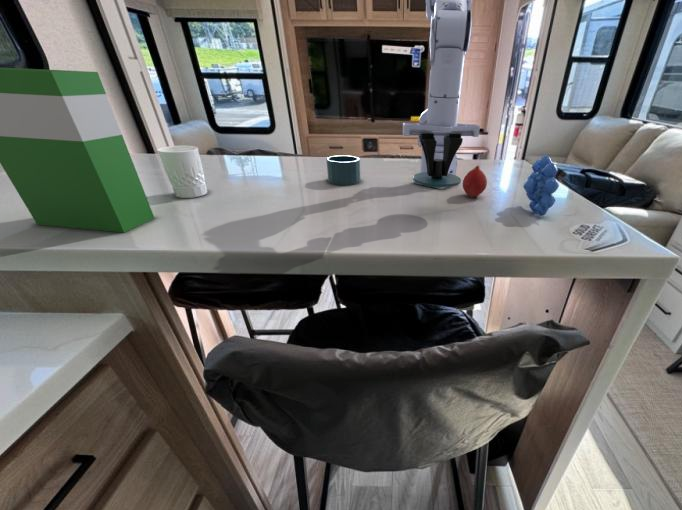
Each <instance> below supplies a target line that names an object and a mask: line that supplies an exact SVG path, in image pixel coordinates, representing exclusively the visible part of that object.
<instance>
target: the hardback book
mask: <svg viewBox="0 0 682 510" xmlns="http://www.w3.org/2000/svg"><path fill="white" fill-rule="evenodd" d="M0 165H1V167H2V168H3V170H4V172H5V173H6V175H7V177H8V179H9V180H10V182H11V185H12V186H13V187H14V189H15V190H16V192H17V194H18V195H19V197H20V199H21V200H22V202H23V204H24V205H25V207H26V208H27V210H28V213H30V215H31V217H32V218H33V220H34V221H35V223H36V225H38V226H39V225H40V226H49V227H61V228H71V229H81V230H94V231H104V232H112V233H113V232H115V233H126V232H129V231H130V230H133V229H135V228H137V227H139V226H141V225H144V224H145V223H148V222H150V221H152V220H154V219H155V215H154V212H153V210H152V208H151V207H152V206H151V205H150V202H149V200H148V198H147V194H146V192H145V189H144V187H143V185H142V182H141V180H140V179H141V178H140V177H139V175H138V172H137V169H136V167H135V165H134V161H133V159H132V156H131V154H130V152H129V149H128V146H127V143H126V141H125V139H124V136H123V133H122V131H121V128H120V125H119V123H118V121H117V118H116V115H115V113H114V110H113V108H112V105H111V103H110V100H109V98H108V95H107V92H106V90H105V88H104V84H103V82H102V79H101V77H100V74H99V72H98V71H88V70H86V71H85V70H64V69H63V70H61V69H41V68H40V69H38V68H20V67H19V68H18V67H17V68H16V67H0Z"/></svg>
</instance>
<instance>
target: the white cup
mask: <svg viewBox="0 0 682 510" xmlns="http://www.w3.org/2000/svg"><path fill="white" fill-rule="evenodd" d="M156 151H157V154H158V156H159V159H160V162H161V164H162V167H163V170H164V172H165V174H166V176H167V179H168V182H169V183H170V185H171V188H172V190H173V193H174V195H175V196H176V198H180V199H193V198H199V197H203V196H205V195H207V194H208V188H207V184H206V178H205V172H204V169H203V163H202V160H201V155H200V151H199V147H198V146H194V145H169V146H164V147H163V146H162V147H159V148H157V149H156Z"/></svg>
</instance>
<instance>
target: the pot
mask: <svg viewBox="0 0 682 510" xmlns="http://www.w3.org/2000/svg"><path fill="white" fill-rule="evenodd" d="M326 167H327V168H326V170H327V180H328V184H332V185H334V186H353V185H358V184H360V183H361V159H360V158H359V157H357V156H354V155H331V156H329V157H327V158H326Z"/></svg>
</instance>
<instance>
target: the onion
mask: <svg viewBox="0 0 682 510" xmlns="http://www.w3.org/2000/svg"><path fill="white" fill-rule="evenodd" d="M487 185H488V179H487V176H486V174H485V173H484V172H483V170H481V168H480V165H476V166H475V167H473V168H472V169H470V170H469V171H468V172H467V173H466V175H465V176H464V177H463V179H462V188H463V190H464V192H465V193H466V194H467V196H468V197H469V198H477V197H479V196H480V195H481V194H482V193H484V191H485V190H486V188H487Z"/></svg>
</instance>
